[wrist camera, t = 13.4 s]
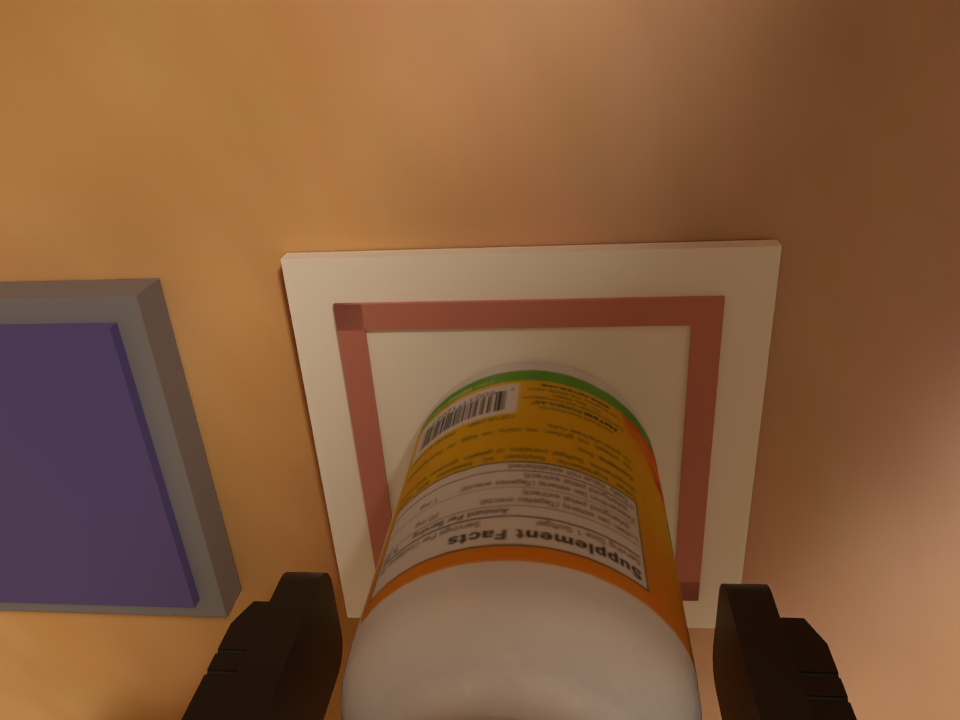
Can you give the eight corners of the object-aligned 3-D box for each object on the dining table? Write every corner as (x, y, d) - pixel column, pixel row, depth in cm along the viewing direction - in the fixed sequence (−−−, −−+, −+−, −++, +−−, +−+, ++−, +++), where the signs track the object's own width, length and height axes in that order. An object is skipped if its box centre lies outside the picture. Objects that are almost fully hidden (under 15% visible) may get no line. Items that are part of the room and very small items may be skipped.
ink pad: (159, 278, 17) (128, 300, 16) (241, 590, 21) (222, 626, 20) (-206, 287, 18) (-260, 309, 17) (-60, 581, 22) (-95, 615, 21)
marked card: (777, 239, 15) (783, 247, 15) (732, 617, 19) (736, 632, 19) (287, 253, 16) (279, 260, 16) (351, 606, 21) (346, 620, 20)
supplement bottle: (605, 576, 19) (638, 1093, 10) (394, 516, 19) (246, 989, 10) (692, 396, 16) (836, 875, 8) (450, 323, 16) (316, 732, 7)
